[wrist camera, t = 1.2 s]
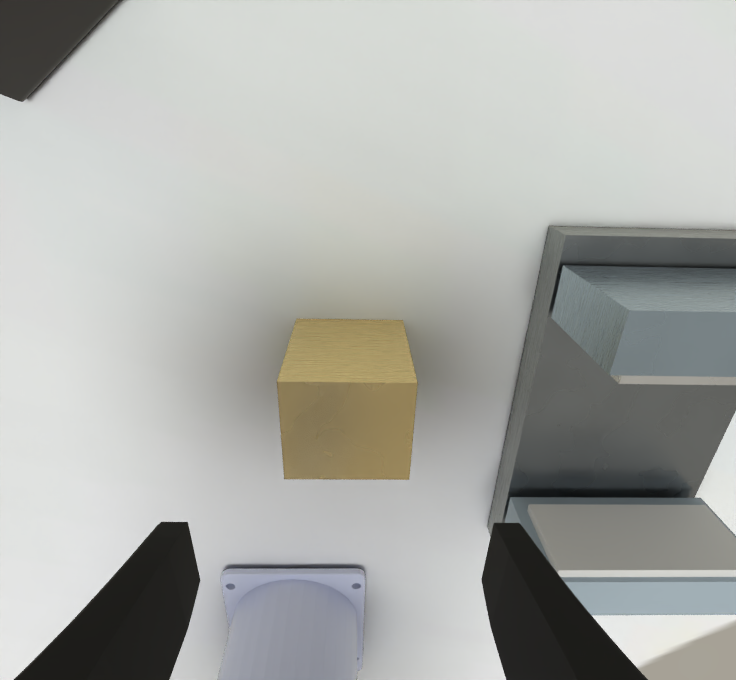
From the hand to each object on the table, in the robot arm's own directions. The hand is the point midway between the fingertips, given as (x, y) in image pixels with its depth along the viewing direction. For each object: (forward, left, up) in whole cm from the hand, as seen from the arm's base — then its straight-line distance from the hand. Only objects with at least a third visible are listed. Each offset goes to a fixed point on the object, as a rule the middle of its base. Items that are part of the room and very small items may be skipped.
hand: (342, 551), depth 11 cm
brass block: (0, 0, -10) cm, 10 cm away
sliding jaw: (-7, -12, -8) cm, 16 cm away
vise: (-2, -12, -9) cm, 15 cm away
